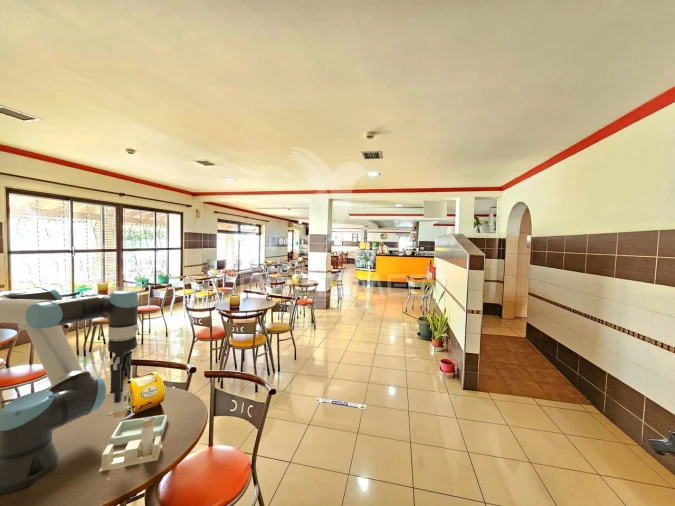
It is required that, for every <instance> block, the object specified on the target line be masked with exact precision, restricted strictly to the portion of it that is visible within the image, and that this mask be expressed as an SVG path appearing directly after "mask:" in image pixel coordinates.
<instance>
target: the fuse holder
mask: <svg viewBox="0 0 675 506" xmlns="http://www.w3.org/2000/svg"><path fill="white" fill-rule="evenodd" d="M114 447H115V446H114V444H111V445H110V444H108V445H107V446H106V448H105V449H104V450H103V452H102V453H101V466H100V469H98V472H105V471H109V470H114V469H119V468H120V469H121V468H124V467H129V466H133V465H139V464H145V463H149V462H154V461H155V462H156V461H158V460H159V457H160V453H161V450H162V447H163V444H162V437H161V436H157V437H156V438H155V439H154V440H153V453H152V455H147V456H142V457H140V455H141V439H140V440H134V441H129V443H127V445H126V446H125V449H124V450H118V451H114Z"/></svg>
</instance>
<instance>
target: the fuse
mask: <svg viewBox="0 0 675 506" xmlns="http://www.w3.org/2000/svg"><path fill="white" fill-rule="evenodd" d="M146 417H147V418H146ZM146 417H143V418H144V419H143V420H142V432H141V455H140V457H142V456H147V455H152V453H153V444H154V439H153V425H154V417H152V416H146Z"/></svg>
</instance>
